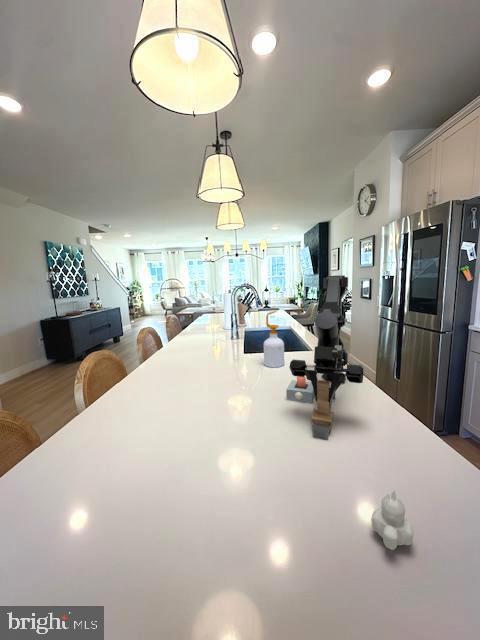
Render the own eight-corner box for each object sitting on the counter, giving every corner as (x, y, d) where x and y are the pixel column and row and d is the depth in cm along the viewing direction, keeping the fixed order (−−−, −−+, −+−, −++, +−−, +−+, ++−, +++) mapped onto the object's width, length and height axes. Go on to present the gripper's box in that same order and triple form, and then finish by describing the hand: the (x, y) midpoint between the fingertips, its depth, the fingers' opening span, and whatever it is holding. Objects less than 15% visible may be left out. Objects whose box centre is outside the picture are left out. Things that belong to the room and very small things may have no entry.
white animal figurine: (412, 531, 41) (416, 485, 40) (411, 570, 36) (415, 519, 35) (374, 515, 44) (376, 472, 43) (367, 549, 39) (369, 501, 38)
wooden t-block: (314, 417, 73) (314, 379, 71) (333, 420, 71) (333, 382, 69) (311, 427, 68) (311, 387, 66) (331, 431, 66) (332, 390, 64)
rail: (323, 396, 87) (323, 387, 87) (335, 398, 86) (335, 388, 85) (312, 436, 66) (312, 425, 66) (327, 439, 65) (328, 427, 64)
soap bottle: (283, 368, 115) (283, 311, 111) (262, 367, 117) (261, 312, 113) (284, 361, 124) (283, 309, 120) (265, 361, 126) (263, 309, 122)
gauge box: (292, 389, 94) (291, 380, 93) (315, 392, 90) (315, 382, 90) (286, 399, 86) (286, 389, 86) (311, 403, 83) (311, 392, 82)
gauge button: (297, 385, 90) (297, 375, 89) (306, 386, 89) (306, 376, 88) (296, 389, 87) (296, 378, 87) (304, 390, 86) (304, 379, 86)
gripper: (290, 331, 74) (281, 384, 66) (364, 335, 67) (364, 394, 59) (296, 351, 83) (288, 400, 74) (362, 356, 75) (362, 411, 67)
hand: (322, 401), depth 68 cm, fingers closed on wooden t-block, 3 cm apart
